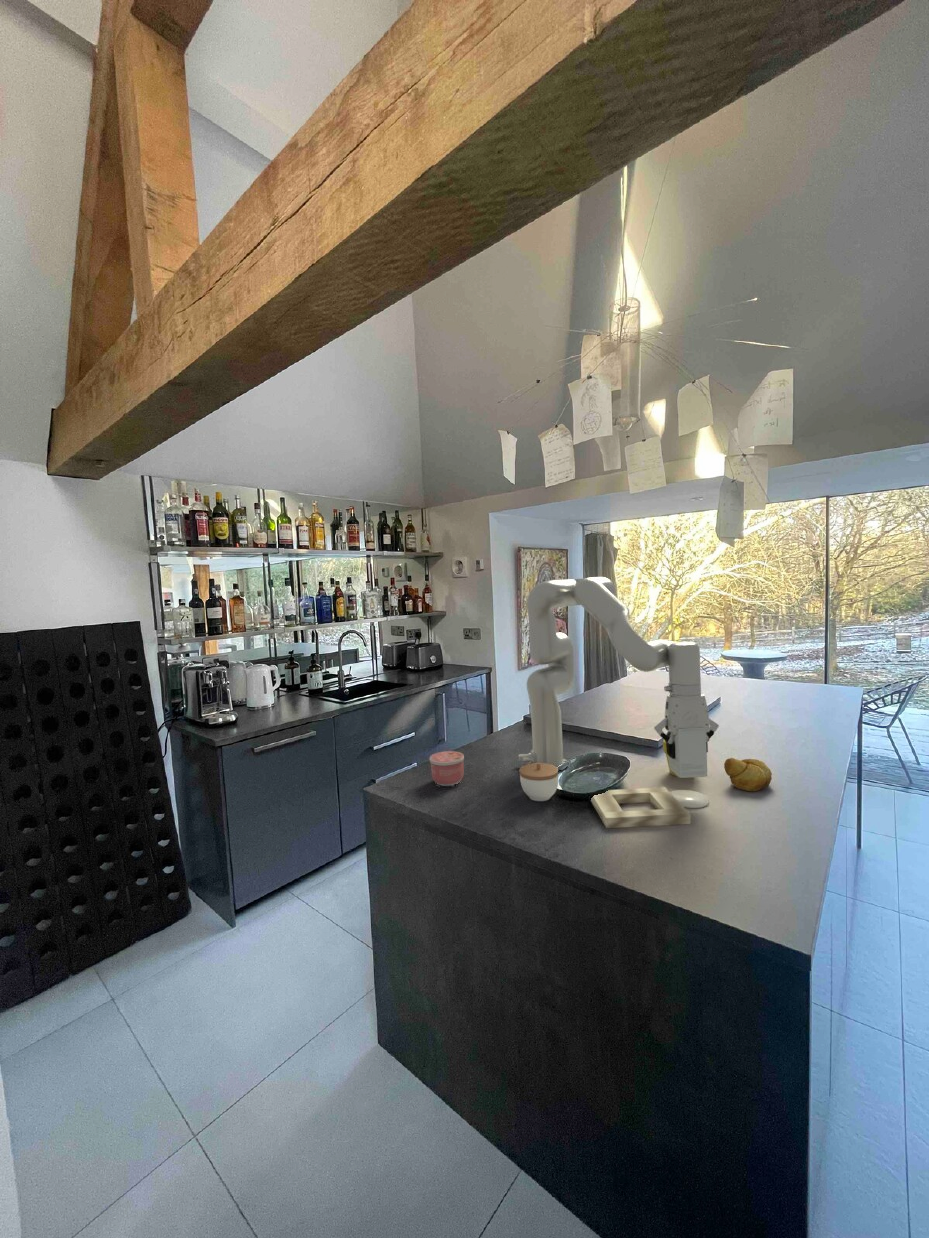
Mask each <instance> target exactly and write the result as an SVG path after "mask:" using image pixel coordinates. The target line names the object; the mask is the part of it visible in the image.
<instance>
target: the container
mask: <svg viewBox="0 0 929 1238" xmlns="http://www.w3.org/2000/svg"><path fill="white" fill-rule="evenodd" d="M464 755H465V754H464V753H462V752H460V751H453V750H445V751H440V752H436V753H433V754H431V755H430V756H429V762H430V771H431V777H432V780H433V781H434V783H435V784H436V783H437V784H440V785H454V784H458V783H459V782H460V781H461V782H462V780H463V778H464V774H465V773H464V768H465V766H464V760H465V756H464ZM461 782H460V783H461ZM458 785H459V784H458Z"/></svg>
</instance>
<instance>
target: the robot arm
mask: <svg viewBox="0 0 929 1238" xmlns="http://www.w3.org/2000/svg"><path fill="white" fill-rule="evenodd" d="M616 594H617V593H616V586H615V584H614V583H613V582H612V580H610V579H609V578H607V577H605V576H592V577H584V578H569V579H568V578H565V579H564V578H563V579H549V580H546V581H542V582H540V583H538V584H536V585H535V586H533V588H532V589H531V590H530V592H529V593H528V596H527V599H526V600H527V602H526V605H527V606H526V607H527V609H526V610H527V615H528V635H529V637H528V639H529V655H530V659H531V661H533V662H534V663H535V664H536V665H548V666H545V667H543V668H538V669H536V670H534V671H533V672H532V673H530V675H528V678H527V680H526V691H527V695H528V698H529V699H528V700H529V706H530V720H531V735H532V737H531V738H532V739H531V740H532V749H531V750H530V752H528V753H522V754H521V753H519V754H518V761H523V763H528V764H531V763H547V764H551V765H554V766H556V767H558V766H559V765H561V764H562V763H565V762H566V761H568V760H567V759H565V758H564V750H563V749H564V746H563V745H564V744H563V727H562V726H563V725H562V711H561V706H560V703H559V700H558V698H557V696H559V695H561V694H564V693H567V692H568V691H570V690H571V689H572V687H573V685H574V681H575V667H574V666H575V663H574V662H575V661H574V660H575V659H574V658H575V657H574V646H573V643H572V640H571V638H569V636H568V635H567V634H566V633H564V632H559V631H557V619H556V617H555V614H554V612H553V609H555V608H556V609H557V608H563V607H564V608H565V607H571V606H574V607H575V606H581V607H582V608H583V609H584V610H585V611H586V612H587V613H589V614H590V615H591V616H592V617H593V618H594V619H595V620H596V621H597V622H598V623H599V624H600V626H602V627H603V628H604V629H605V630H606V632H607V633H606V634H608V635H607V636H608V638H609V640H610V642H611V643H612V644H611V645H613V647H614V649H615V650H616V652H617V653H618V654H619V655H620V656H622V658H624V660H625V661H626V662H627V663H629V664H630V666H632V667H633V668H635V669H636V670H638V671H641V672H645V673H646V672H647V673H649V672H652V671H655V670H657V669H661V668H665V667H668V681H669V682H668V685H665V686H663V689H664V690H663V691H665V692H668V694H667V695H666V699H665V706H664V707H665V708H664V719H662V720H661V721H660V722H659V723H657V724H656V725H655V726H654V727H653V729H654V731H655V732H656V733H657V734H658V736H659V737H660V738H662V739H663V740H665V741H666V751H667V754H668V755H669V756H670V757H671V758H672V759H675V744H674V743H673V741H674V739H675V735H677V729H685V728H706V748H707V753H708V752H709V749H708V747H709V745H708V743H709V742H710V740H711V738H712V737H713V736H714V735H715V732H716V731H717V730H718V728H719V727H720V725H719V724H718V723H717V722H715V721H714V720H712V719H711V718H710V716H709V710H708V704H707V699H706V697H705V694H703V693H702V685H701V683H702V681H701V680H702V679H701V653H700V651H701V650H700V645H699V644H698V643H696V642H695V641H671V640H666V639H654V640H650V641H645V639H643V638H642V637H641V636H640V635H639V634H638V633H637V632H636V631H635V630H634V629H633V627H632V626H631V624H630V621H629V616H630V608H629V607H628V606H627V605H626V604H624V603H623V602H622V601H621V600H620V599H619V598H618V597H617V596H616ZM664 729H665V730H666V731H667V732H666V733H665V732H664Z"/></svg>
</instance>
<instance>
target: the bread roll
mask: <svg viewBox="0 0 929 1238" xmlns="http://www.w3.org/2000/svg"><path fill="white" fill-rule="evenodd" d="M723 767H724V770H725V773H726V775H727V776H729V779H730V783H731V784H732V785H733V786H734V787H735V788H737V789H739V790H742V791H747V792H757V791H760V790H761V789H765V788H767V787H768V786H769V785H770V784H771V781H772V778H773V777H772V775H773V773H772V771H771V769H770V768H769V767H768V765H767V764H766V763H765V762H764V761H762V760H759V759H756V758H755V759H754V758H745V759H742V760H739V759H738V758H737V759H736V758H733V757H730V758H727V759H726V760H725V761H724V764H723Z"/></svg>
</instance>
